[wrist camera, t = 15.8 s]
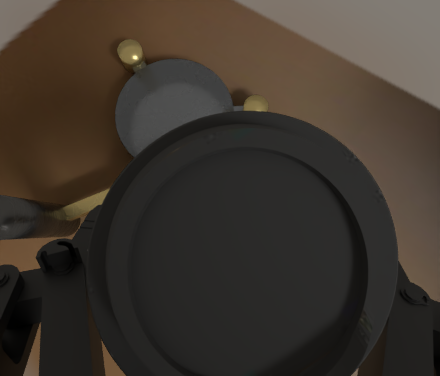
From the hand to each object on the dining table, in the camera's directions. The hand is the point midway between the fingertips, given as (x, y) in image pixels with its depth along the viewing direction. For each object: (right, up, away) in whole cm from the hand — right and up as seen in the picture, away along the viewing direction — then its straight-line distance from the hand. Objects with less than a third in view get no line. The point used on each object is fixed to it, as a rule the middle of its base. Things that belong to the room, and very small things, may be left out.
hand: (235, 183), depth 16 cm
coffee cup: (0, -4, +6) cm, 7 cm away
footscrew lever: (-12, -2, +13) cm, 18 cm away
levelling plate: (-5, +7, +14) cm, 17 cm away
